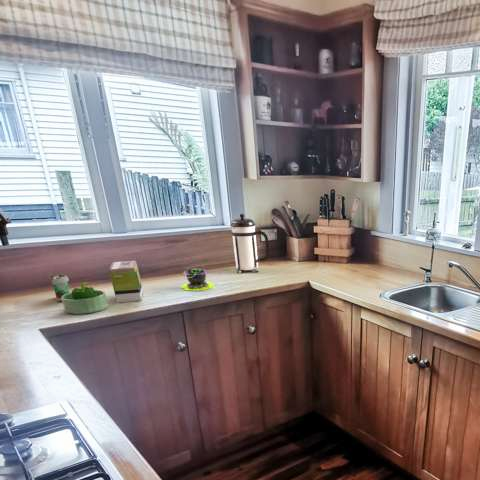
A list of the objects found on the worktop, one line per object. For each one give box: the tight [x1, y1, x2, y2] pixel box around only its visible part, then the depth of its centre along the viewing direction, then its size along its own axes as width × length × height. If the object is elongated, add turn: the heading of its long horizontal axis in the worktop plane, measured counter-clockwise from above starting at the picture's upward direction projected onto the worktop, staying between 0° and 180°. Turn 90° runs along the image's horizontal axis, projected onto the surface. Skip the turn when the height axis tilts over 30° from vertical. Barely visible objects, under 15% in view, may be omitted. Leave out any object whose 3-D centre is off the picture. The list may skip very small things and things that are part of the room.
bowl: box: [61, 289, 109, 315], centre depth 189 cm, size 15×15×6 cm
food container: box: [50, 273, 70, 303], centre depth 201 cm, size 12×6×10 cm, turn 34°
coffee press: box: [227, 213, 270, 274], centre depth 251 cm, size 17×16×30 cm
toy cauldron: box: [180, 262, 215, 292], centre depth 222 cm, size 15×15×11 cm
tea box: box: [108, 260, 144, 304], centre depth 203 cm, size 15×10×15 cm
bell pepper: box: [70, 282, 96, 300], centre depth 188 cm, size 8×8×10 cm
